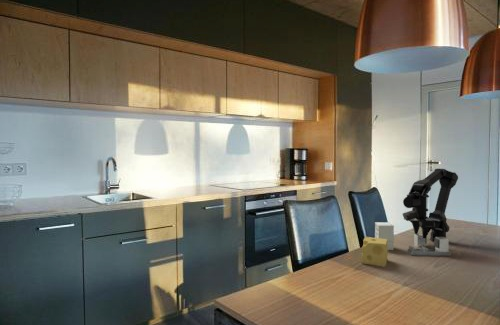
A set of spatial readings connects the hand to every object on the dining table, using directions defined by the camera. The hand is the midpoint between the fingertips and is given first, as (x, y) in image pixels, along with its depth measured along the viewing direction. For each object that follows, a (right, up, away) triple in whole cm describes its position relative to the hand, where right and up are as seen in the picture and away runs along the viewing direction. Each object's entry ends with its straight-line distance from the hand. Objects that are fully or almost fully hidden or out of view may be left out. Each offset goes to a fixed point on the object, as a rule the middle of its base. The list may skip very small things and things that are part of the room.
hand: (420, 236), depth 171 cm
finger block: (0, -5, 0) cm, 5 cm away
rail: (-3, -6, -14) cm, 15 cm away
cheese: (-33, -7, -24) cm, 41 cm away
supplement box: (-20, -6, -4) cm, 21 cm away
